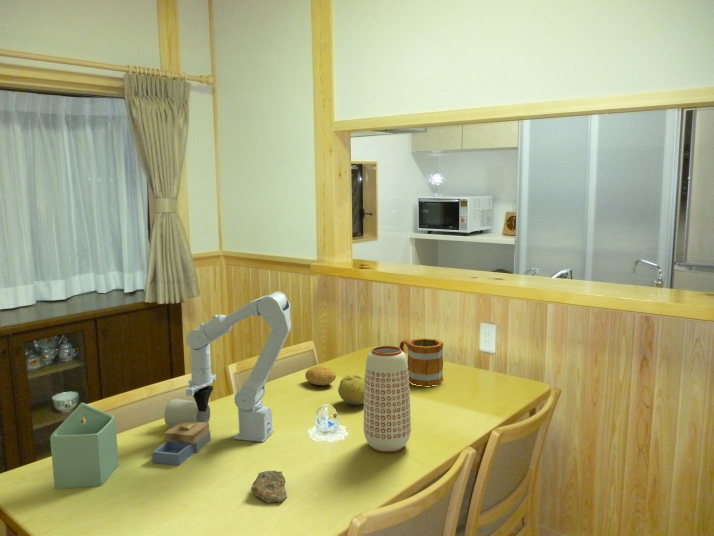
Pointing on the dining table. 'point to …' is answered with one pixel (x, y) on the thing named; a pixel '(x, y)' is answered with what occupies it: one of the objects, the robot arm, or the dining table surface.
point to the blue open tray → (172, 453)
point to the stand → (202, 442)
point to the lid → (187, 432)
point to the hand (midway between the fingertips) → (202, 410)
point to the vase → (387, 399)
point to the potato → (320, 375)
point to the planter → (84, 449)
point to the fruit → (352, 389)
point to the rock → (270, 486)
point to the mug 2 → (424, 361)
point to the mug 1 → (184, 412)
